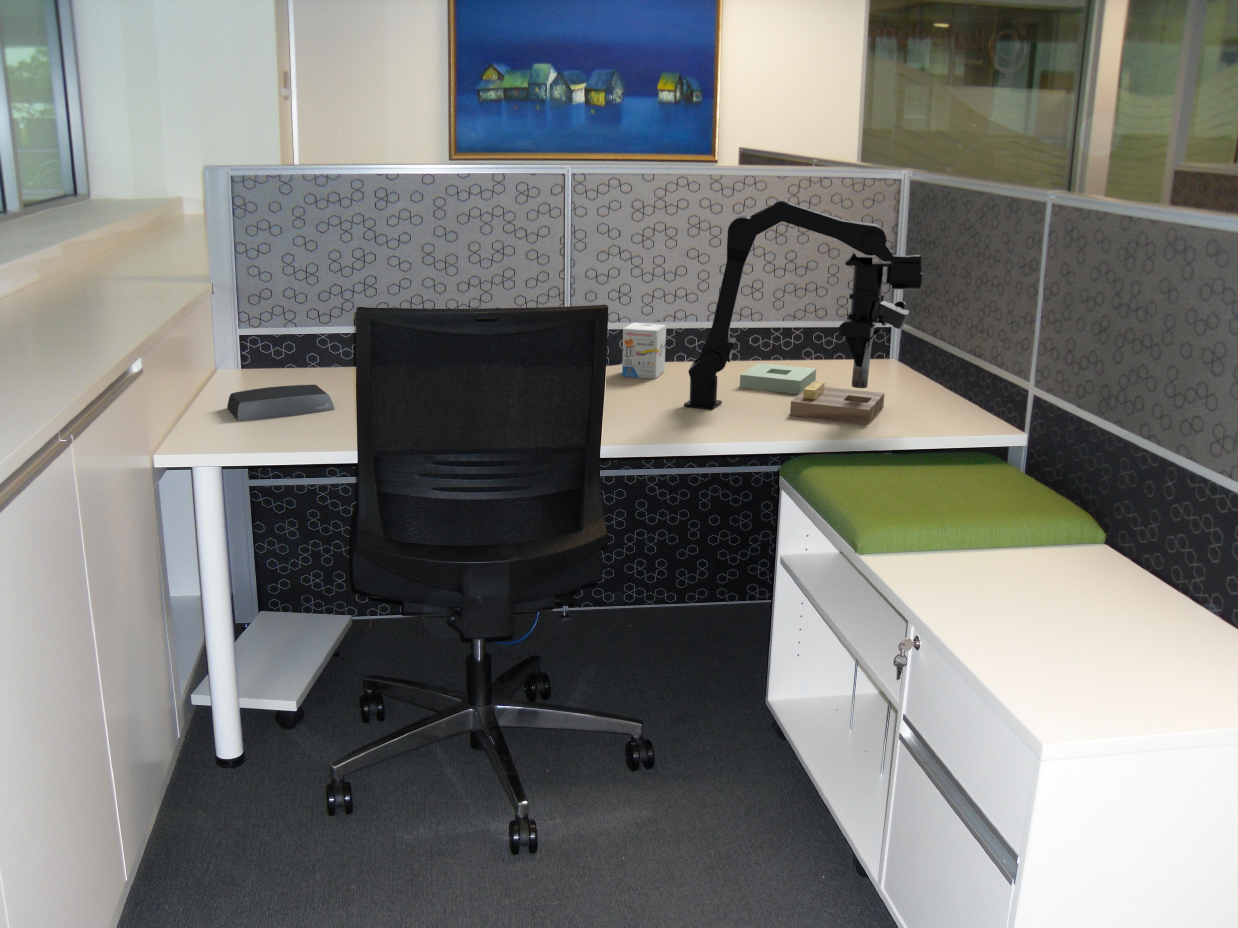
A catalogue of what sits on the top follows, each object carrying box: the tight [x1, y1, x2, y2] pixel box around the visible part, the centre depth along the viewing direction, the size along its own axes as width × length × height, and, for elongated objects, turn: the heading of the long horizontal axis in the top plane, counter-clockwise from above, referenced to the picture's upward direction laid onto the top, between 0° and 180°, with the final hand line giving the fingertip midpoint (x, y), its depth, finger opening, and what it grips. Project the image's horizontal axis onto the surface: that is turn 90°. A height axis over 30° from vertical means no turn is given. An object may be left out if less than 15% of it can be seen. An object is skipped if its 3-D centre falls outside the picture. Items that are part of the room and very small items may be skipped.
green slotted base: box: [739, 362, 817, 395], centre depth 244 cm, size 14×14×3 cm
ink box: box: [621, 322, 667, 380], centre depth 252 cm, size 9×8×12 cm
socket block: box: [789, 386, 886, 425], centre depth 221 cm, size 16×16×3 cm
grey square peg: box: [851, 339, 873, 389], centre depth 217 cm, size 3×3×10 cm
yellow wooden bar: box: [803, 380, 826, 400], centre depth 222 cm, size 8×2×2 cm, turn 156°
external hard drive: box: [226, 384, 335, 422], centre depth 218 cm, size 13×19×4 cm
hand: (860, 364), depth 217 cm, fingers closed on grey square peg, 3 cm apart
